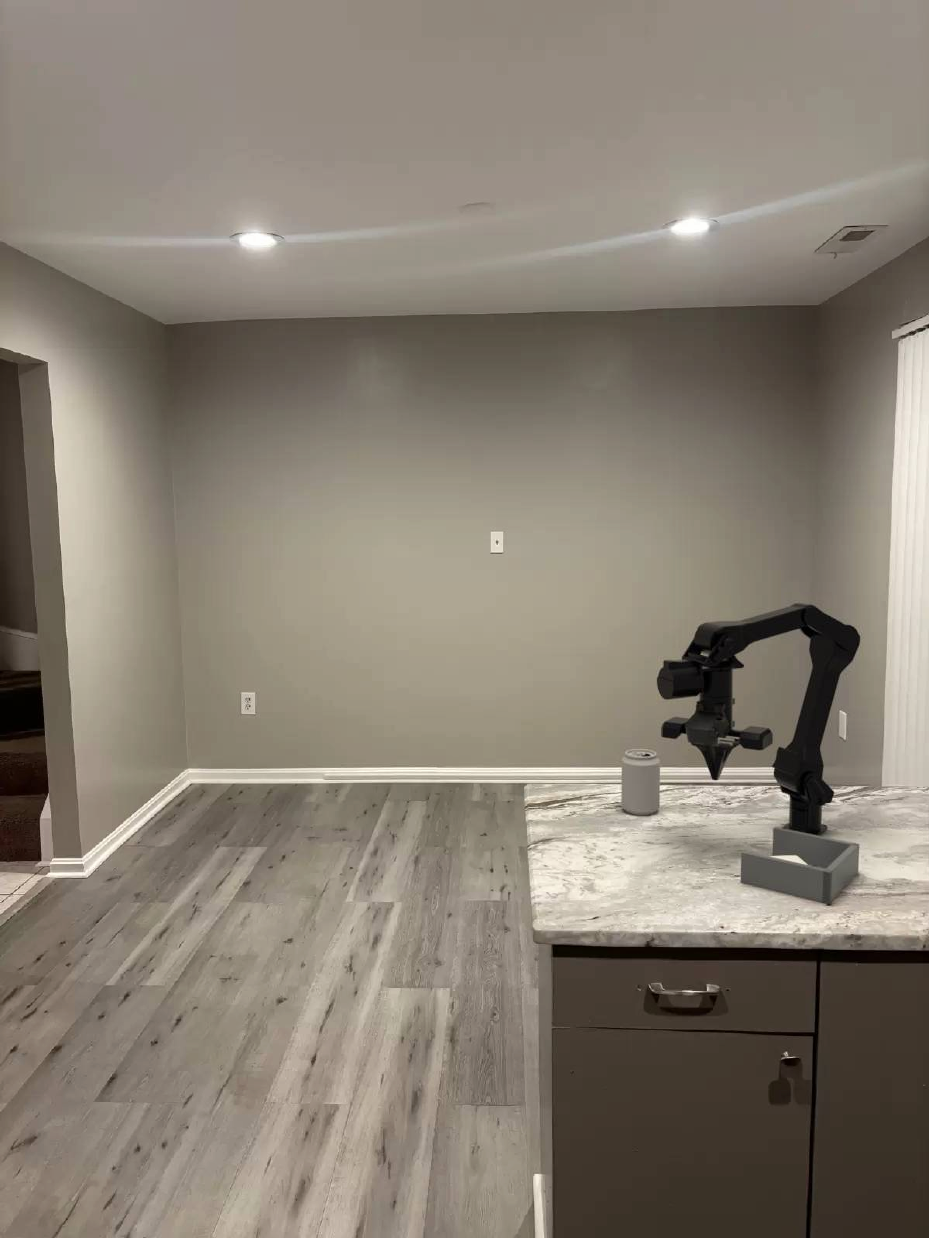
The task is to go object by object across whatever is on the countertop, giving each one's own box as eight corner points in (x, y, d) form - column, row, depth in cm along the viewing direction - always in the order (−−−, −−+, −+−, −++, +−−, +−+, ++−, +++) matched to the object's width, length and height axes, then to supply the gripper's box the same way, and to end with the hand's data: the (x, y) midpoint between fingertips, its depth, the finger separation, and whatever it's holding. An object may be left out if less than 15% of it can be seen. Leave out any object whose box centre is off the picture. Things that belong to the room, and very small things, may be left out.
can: (659, 817, 184) (660, 757, 183) (620, 815, 185) (621, 756, 184) (659, 805, 191) (660, 747, 190) (622, 803, 193) (622, 746, 191)
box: (774, 854, 164) (775, 826, 163) (858, 873, 155) (859, 843, 155) (740, 882, 152) (741, 852, 152) (829, 903, 144) (830, 872, 143)
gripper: (647, 697, 166) (647, 783, 168) (751, 708, 155) (750, 800, 157) (673, 686, 175) (674, 767, 177) (774, 696, 164) (773, 783, 166)
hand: (715, 779), depth 169 cm, fingers closed
